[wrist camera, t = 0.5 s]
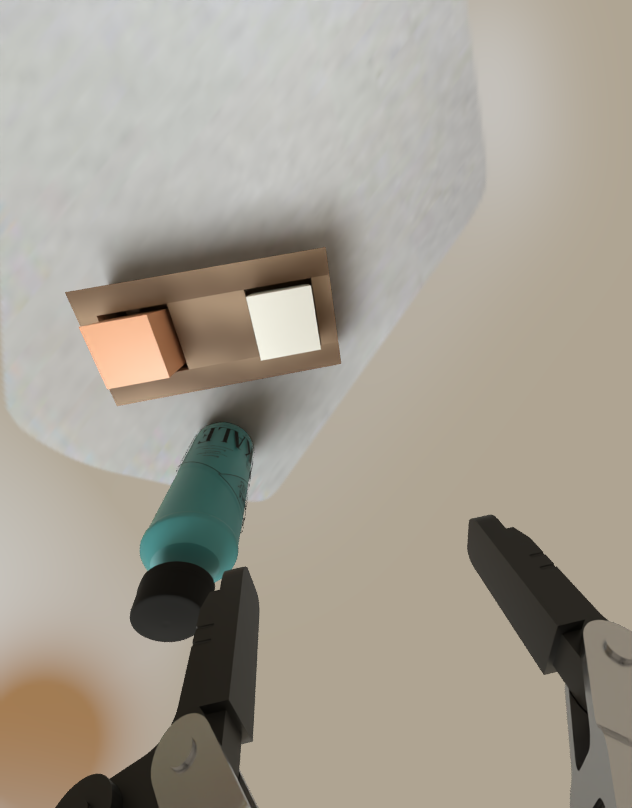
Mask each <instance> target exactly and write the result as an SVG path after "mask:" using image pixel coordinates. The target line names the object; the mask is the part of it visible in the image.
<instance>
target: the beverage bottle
mask: <svg viewBox="0 0 632 808" xmlns="http://www.w3.org/2000/svg"><path fill="white" fill-rule="evenodd" d="M197 433H198V432H197ZM195 437H196V438H195V440H194V439H193V440H194V442H193V443H192V445H191V444H190V445H191V447H190V446H189V447H188V449H189V448H190V449H189V451H188V449H187V451H188V453H187V452H186V453H187V455H186V454H185V455H186V457H185V455H184V457H185V459H184V461H183V463H182V464H181V466H180V465H179V466H180V468H179V470H178V469H177V470H178V473H177V475H176V477H175V479H174V481H173V483H172V485H171V487H170V489H169V490H168V492H167V494H166V496H165V498H164V500H163V502H162V504H161V506H160V508H159V509H158V511H157V513H156V515H155V517H154V519H153V521H152V523H151V525H150V526H149V528H148V529H147V530H146V532H145V534H144V535H143V538H142V540H141V544H140V557H141V560H142V562H143V564H144V566H145V568H146V569H147V572H146V573H145V575H144V576H143V578H142V580H141V582H140V585H139V587H138V590H137V595H136V598H135V600H134V603H133V606H132V609H131V612H130V622H131V624H132V626H133V628H134V629H135V630H136V631H137V632H138V633H139V634H140V635H142V636H144V637H146V638H149V639H151V640H155V641H161V642H175V641H181V640H184V639H187V638H189V637H191V636H193V635H194V634H195V631H196V625H197V621H198V616H199V612H200V608H201V607H202V605H203V603H204V601H205V600H206V598H207V596H208V594H209V593H210V592H212V591H214V590H215V582H216V581H218V580H220V579H222V576H223V573H224V571H227V570H231V569H232V568H233V566H234V564H235V562H236V560H237V556H238V542H239V537H240V533H241V528H242V526H243V524H242V520H245V518H244V519H243V514H244V508H245V507H246V506H245V501H246V494H247V487H248V485H250V484H248V481H249V479H250V480H251V471H250V470H251V469H252V468H251V461H252V455H253V449H254V448H253V445H252V441H251V438H250V437H249V435H248V434H247V433H246V432H245V431H244V430H243V429H242V428H240V427H239V426H237V425H234V424H231V423H225V422H220V423H214V424H211V425H208V426H207V427H205V428H204V429H202V430H201V431H200V432H199V433H198V435H197V434H196V435H195ZM181 461H182V460H181ZM252 462H253V461H252ZM179 466H178V467H179ZM252 466H253V463H252ZM250 468H251V469H250ZM176 472H177V471H176ZM248 488H249V487H248ZM245 510H246V508H245Z"/></svg>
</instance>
